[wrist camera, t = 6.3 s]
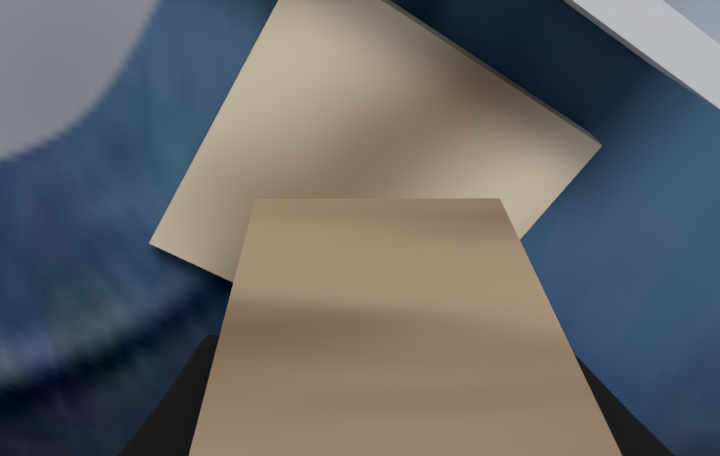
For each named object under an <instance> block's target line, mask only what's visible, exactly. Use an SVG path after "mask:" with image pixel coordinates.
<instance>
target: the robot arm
mask: <svg viewBox="0 0 720 456" xmlns="http://www.w3.org/2000/svg"><path fill="white" fill-rule="evenodd" d="M219 337H220V335H208V336H207V337H206V338H204V339H203V340H202V341H201V343H200V344H199V346H198V347H197V349H196V350H195V352H194V353H193V355H192V356H191V358H190V359H189V361H188V362H187V364H186V365H185V367H184V368H183V370H182V371H181V373H180V374H179V376H178V377H177V378H176V380H175V381H174V383H173V384H172V386H171V387H170V388H169V390H168V391H167V392H166V394H165V395H164V397H163V398H162V399H161V401H160V402H159V404H158V405H157V406H156V408H155V409H154V410H153V411H152V413H151V414H150V415H149V417H148V418H147V419H146V421H145V422H144V423H143V425H142V426H141V427H140V428H139V430H138V431H137V432H136V434H135V435H134V436H133V438H132V439H131V440H130V441H129V443H128V444H127V445H126V447H125V448H124V449H123V450H122V452H121V453H120V454H119V455H118V456H189V453H190V449H191V445H192V441H193V437H194V434H195V430H196V426H197V422H198V418H199V414H200V410H201V406H202V402H203V399H204V395H205V391H206V387H207V383H208V379H209V375H210V371H211V368H212V364H213V360H214V356H215V352H216V348H217V344H218V340H219ZM574 355H575V354H574ZM575 357H576V360H577V362H578V364H579V366H580V368H581V370H582V372H583V374H584V376H585V379H586V381H587V383H588V385H589V387H590V389H591V391H592V393H593V395H594V397H595V400H596V402H597V404H598V406H599V408H600V410H601V412H602V414H603V416H604V418H605V421H606V423H607V425H608V427H609V429H610V431H611V433H612V435H613V437H614V439H615V442H616V444H617V446H618V448H619V450H620V452H621V454H622V456H675V455H673V454H672V453H671V452H670V451H669V450H668V449H667V448H666V447H665V446H664V445H663V444H662V443H661V442H660V441H659V440H658V439H657V438H656V437H655V436H654V435H653V434H652V433H651V432H650V431H649V430H648V429H647V428H646V427H645V426H644V425H643V424H642V423H641V422H640V421H639V420H638V419H637V418H636V417H635V416H634V415H633V414H632V413H631V412H630V411H629V410H628V409H627V408H626V407H625V406H624V405H623V404H622V403H621V402H620V401H619V400H618V399H617V398H616V397H615V396H614V395H613V394H612V393H611V392H610V391H609V390H608V389H607V388H606V387H605V385H604V384H603V383H602V382H601V381H600V380H599V379H598V378H597V377H596V376H595V375H594V374H593V373H592V372H591V371H590V370H589V369H588V368H587V367H586V365H585V364H584V363H583V362H582V361H581V360H580V359H579V358H578V357H577V356H576V355H575Z"/></svg>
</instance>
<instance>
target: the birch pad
mask: <svg viewBox="0 0 720 456" xmlns="http://www.w3.org/2000/svg"><path fill="white" fill-rule="evenodd" d="M601 147H602V145H601V144H600V143H599V142H598V141H597V140H596V138H595V137H594V136H593V135H592V134H591V133H590V132H588V131H587V130H585V129H584V128H582V127H581V126H579V125H578V124H576V123H575V122H573V121H572V120H570V119H569V118H567V117H566V116H564V115H563V114H561V113H560V112H558V111H557V110H555V109H554V108H552V107H551V106H549V105H548V104H546V103H544V102H543V101H541V100H540V99H538V98H537V97H535V96H534V95H532V94H531V93H529V92H528V91H526V90H525V89H523V88H522V87H520V86H519V85H517V84H516V83H514V82H513V81H511V80H510V79H508V78H507V77H505V76H504V75H502V74H501V73H499V72H498V71H496V70H495V69H493V68H492V67H490V66H489V65H487V64H486V63H484V62H483V61H481V60H480V59H478V58H477V57H475V56H474V55H472V54H471V53H469V52H468V51H466V50H465V49H463V48H461V47H460V46H458V45H457V44H455V43H454V42H452V41H451V40H449V39H448V38H446V37H445V36H443V35H442V34H440V33H439V32H437V31H436V30H434V29H433V28H431V27H430V26H428V25H427V24H425V23H424V22H422V21H421V20H419V19H418V18H416V17H415V16H413V15H412V14H410V13H409V12H407V11H406V10H404V9H403V8H401V7H400V6H398V5H397V4H395V3H394V2H392V1H391V0H278V1H277V3H276V5H275V7H274V9H273V11H272V12H271V14H270V16H269V18H268V20H267V22H266V24H265V26H264V27H263V29H262V31H261V33H260V35H259V37H258V39H257V41H256V42H255V44H254V46H253V48H252V50H251V52H250V54H249V56H248V58H247V59H246V61H245V63H244V65H243V67H242V69H241V71H240V73H239V74H238V76H237V78H236V80H235V82H234V84H233V86H232V88H231V89H230V91H229V93H228V95H227V97H226V99H225V101H224V103H223V104H222V106H221V108H220V110H219V112H218V114H217V116H216V118H215V120H214V121H213V123H212V125H211V127H210V129H209V131H208V133H207V135H206V136H205V138H204V140H203V142H202V144H201V146H200V148H199V150H198V151H197V153H196V155H195V157H194V159H193V161H192V163H191V165H190V167H189V168H188V170H187V172H186V174H185V176H184V178H183V180H182V182H181V183H180V185H179V187H178V189H177V191H176V193H175V195H174V197H173V198H172V200H171V202H170V204H169V206H168V208H167V210H166V212H165V214H164V215H163V217H162V219H161V221H160V223H159V225H158V227H157V229H156V231H155V233H154V235H153V236H152V238H151V240H150V242H149V244H151V245H153V246H155V247H158V248H160V249H162V250H164V251H166V252H168V253H171V254H173V255H175V256H177V257H179V258H181V259H184V260H186V261H188V262H190V263H192V264H194V265H196V266H199V267H201V268H203V269H205V270H207V271H209V272H212V273H214V274H216V275H218V276H220V277H222V278H225V279H227V280H229V281H231V282H234V278H235V275H236V271H237V267H238V263H239V259H240V255H241V251H242V247H243V244H244V240H245V236H246V232H247V228H248V224H249V220H250V216H251V213H252V209H253V205H254V201H255V199H430V198H500V200H501V202H502V204H503V206H504V208H505V210H506V212H507V215H508V217H509V219H510V221H511V223H512V225H513V227H514V229H515V231H516V233H517V236H518V238H519V240H520V239H521V238H522V237H523V235H524V234H525V233H526V232H527V231H528V230H529V229H530V227H531V226H532V225H533V224H534V223H535V222H536V221H537V219H538V218H539V217H540V216H541V215H542V214H543V213H544V212H545V210H546V209H547V208H548V207H549V206H550V205H551V204H552V202H553V201H554V200H555V199H556V198H557V197H558V196H559V194H560V193H561V192H562V191H563V190H564V189H565V188H566V186H567V185H568V184H569V183H570V182H571V181H572V180H573V178H574V177H575V176H576V175H577V174H578V173H579V172H580V170H581V169H582V168H583V167H584V166H585V165H586V164H587V163H588V161H589V160H590V159H591V158H592V157H593V156H594V155H595V153H596V152H597V151H598V150H599V149H600V148H601Z"/></svg>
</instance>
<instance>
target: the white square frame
mask: <svg viewBox="0 0 720 456" xmlns="http://www.w3.org/2000/svg"><path fill="white" fill-rule="evenodd" d="M563 1H564V2H566V3H567V4H568V5H570V6H571V7H572V8H574V9H575V10H576V11H578V12H579V13H581V14H582V15H583V16H585V17H586V18H587V19H589V20H590V21H591V22H593V23H594V24H596V25H597V26H598V27H600V28H601V29H602V30H604V31H605V32H606V33H608V34H609V35H611V36H612V37H613V38H615V39H616V40H617V41H619V42H620V43H621V44H623V45H624V46H626V47H627V48H628V49H630V50H631V51H632V52H634V53H635V54H636V55H638V56H639V57H641V58H642V59H643V60H645V61H646V62H647V63H649V64H650V65H652V66H653V67H655V68H656V69H658V70H659V71H661V72H662V73H664V74H665V75H667V76H668V77H670V78H672V79H673V80H675V81H676V82H678V83H679V84H681V85H682V86H684V87H685V88H687V89H688V90H690V91H691V92H693V93H694V94H696V95H698V96H699V97H701V98H702V99H704V100H705V101H707V102H708V103H710V104H711V105H713V106H714V107H716V108H717V109H719V110H720V0H563Z"/></svg>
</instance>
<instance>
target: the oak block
mask: <svg viewBox="0 0 720 456" xmlns="http://www.w3.org/2000/svg"><path fill="white" fill-rule="evenodd" d="M189 456H622V454H621V452H620V450H619V448H618V446H617V444H616V442H615V439H614V437H613V435H612V433H611V431H610V429H609V427H608V425H607V423H606V421H605V418H604V416H603V414H602V412H601V410H600V408H599V406H598V404H597V402H596V400H595V397H594V395H593V393H592V391H591V389H590V387H589V385H588V383H587V381H586V379H585V376H584V374H583V372H582V370H581V368H580V366H579V364H578V362H577V360H576V357H575V355H574V353H573V351H572V349H571V347H570V345H569V343H568V341H567V339H566V336H565V334H564V332H563V330H562V328H561V326H560V324H559V322H558V320H557V318H556V315H555V313H554V311H553V309H552V307H551V305H550V303H549V301H548V299H547V297H546V294H545V292H544V290H543V288H542V286H541V284H540V282H539V280H538V278H537V275H536V273H535V271H534V269H533V267H532V265H531V263H530V261H529V259H528V257H527V254H526V252H525V250H524V248H523V246H522V244H521V242H520V240H519V238H518V236H517V233H516V231H515V229H514V227H513V225H512V223H511V221H510V219H509V217H508V215H507V212H506V210H505V208H504V206H503V204H502V202H501V200H500V198H430V199H255V201H254V205H253V209H252V213H251V216H250V220H249V224H248V228H247V232H246V236H245V240H244V244H243V247H242V251H241V255H240V259H239V263H238V267H237V271H236V275H235V278H234V282H233V286H232V290H231V294H230V298H229V302H228V306H227V309H226V313H225V317H224V321H223V325H222V329H221V333H220V337H219V340H218V344H217V348H216V352H215V356H214V360H213V364H212V368H211V371H210V375H209V379H208V383H207V387H206V391H205V395H204V399H203V402H202V406H201V410H200V414H199V418H198V422H197V426H196V430H195V434H194V437H193V441H192V445H191V449H190V453H189Z"/></svg>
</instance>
